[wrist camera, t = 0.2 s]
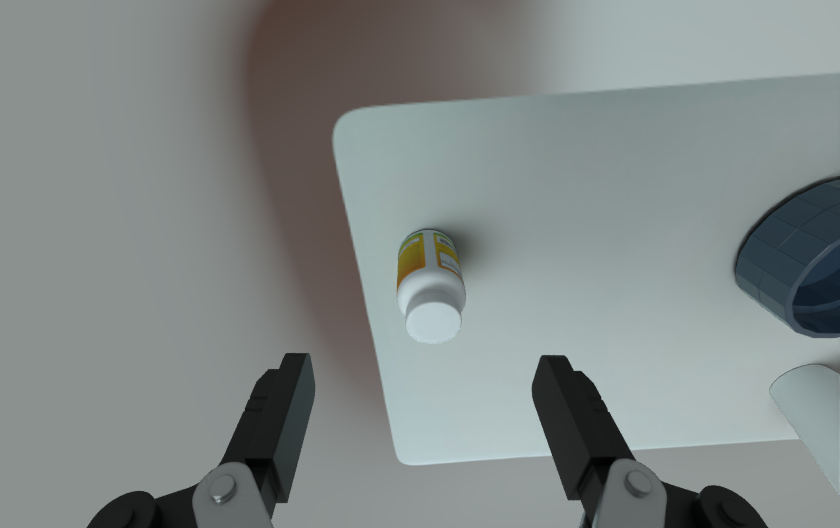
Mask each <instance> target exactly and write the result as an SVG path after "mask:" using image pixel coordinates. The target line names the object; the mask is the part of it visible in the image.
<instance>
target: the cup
mask: <svg viewBox="0 0 840 528" xmlns="http://www.w3.org/2000/svg"><path fill="white" fill-rule="evenodd" d="M769 392H770V396H771V397H772V398H773V400H774V401H775V403H776V404H777V406H778V407H779V409H780V410H781V411H782V413H783V414H784V416H785V417H786V419H787V420H788V422H789V423H790V425H791V426H792V427H793V429H794V430H795V432H796V433H797V435H798V436H799V438H800V439H801V441H802V442H803V443H804V445H805V446H806V448H807V449H808V451H809V452H810V454H811V455H812V457H813V458H814V459H815V461H816V462H817V464H818V465H819V467H820V468H821V470H822V471H823V473H824V474H825V475H826V477H827V478H828V480H829V481H830V483H831V484H832V486H833V487H834V488H835V490H836V491H837V493H838V494H839V496H840V374H838V373H837V372H835V371H833V370H831V369H829V368H827V367H826V366H824V365H819V364H813V365H806V366H802V367H799V368H796V369H793V370H791V371H789V372H787V373H785V374H784V375H782V376H781V377H779V378H778V379H777V380H776V381H775V382H774V383H773V384H772V386H771V387H770V390H769Z"/></svg>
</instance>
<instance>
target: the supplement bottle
mask: <svg viewBox="0 0 840 528" xmlns="http://www.w3.org/2000/svg"><path fill="white" fill-rule="evenodd" d="M465 302H466V292H465V286H464V282H463V278H462V274H461V269H460V265H459V261H458V257H457V252H456V249H455V246H454V244H453V242H452V241H451V240H450V239H449V238H448V237H447V236H446V235H444V234H443V233H441V232H438V231H434V230H422V231H418V232H416V233H414V234H412V235H410V236H409V237H407V238H406V239H405V240H404V242H403V243H402V245H401V247H400V250H399V255H398V277H397V303H398V306H399V309H400V311H401V313H402V314H403V315H404V317H405V318H406V328H407V330H408V332H409V334H410V335H411V336H412V337H413V338H414V339H416V340H417V341H420V342H423V343H427V344H438V343H443V342H446V341H448V340H450V339H451V338H453V337H454V336H455V335H456V334H457V333H458V332H459V330H460V328H461V325H462V318H461V312H462V310H463V308H464V306H465Z"/></svg>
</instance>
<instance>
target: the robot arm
mask: <svg viewBox="0 0 840 528" xmlns="http://www.w3.org/2000/svg"><path fill="white" fill-rule="evenodd" d="M314 396H315V380H314V374H313V368H312V363H311V357H310V354H309V353H286V354H285V356H284V358H283V360H282V363H281V365H280V368H279V369H268V370H267V371H266V372H265V374H264V375H263V376H262V377H261V378H260V379H259V380H258V381H257V382H256V384H255V387H254V389H253V391H252V393H251V396H250V399H249V400H248V402H247V405H246V407H245V411H244V412H243V414H242V416H241V418H240V420H239V423H238V425H237V428H236V430H235V432H234V434H233V437H232V439H231V441H230V443H229V446H228V448H227V450H226V452H225V454H224V457H223V459H222V461H221V462H220V464H219V465H218V466H217V467H216V468H214V469H213V470H211V471H210V472H209V473H208V474H207V475H206V476H205V477H204V478H203V479H202V480H201V481H200V482H199V483H198V484H196V485H194V486H192V487H189V488H187V489H183V490H181V491H177V492H175V493H171V494H168V495H165V496H162V497H159V498H156V499H154V498H153V496H152V495H150V494H149V493H147V492H144V491H134V492H130V493H126V494H124V495H122V496H120V497H118V498H116V499H114V500H113V501H111V502H110V503H108V504H107V505H106V506H105V507H104V508H102V509H101V510H100V511H99V512H98V513H97V514H96V516H95V517H94V518H93V519H92V520H91V522H90V523H89V525H88V527H87V528H274V527H273V525H272V522H271V519H272V515H273V512H274V508H275V504H276V503H287V502H288V498H289V494H290V490H291V487H292V483H293V479H294V475H295V471H296V467H297V464H298V460H299V456H300V452H301V448H302V444H303V440H304V436H305V433H306V428H307V425H308V421H309V417H310V413H311V410H312V406H313V402H314ZM532 397H533V402H534V405H535V408H536V410H537V413H538V416H539V419H540V422H541V425H542V428H543V430H544V433H545V436H546V439H547V442H548V445H549V448H550V450H551V453H552V456H553V459H554V462H555V465H556V467H557V470H558V473H559V476H560V479H561V482H562V485H563V487H564V490H565V493H566V496H567V499H568V500H581V502H582V505H583V508H584V510H585V511H584V513H583V515H582V518H581V522H580V525H579V528H768V527H767V525H766V524H765V522H764V521H763V520H762V518H761V517H760V515H759V514H758V513H757V511H756V510H755V509H754V508H753V507H752V506H751V505H750V504H749V503H748V502H747V501H746V500H745V499H743V498H742V497H741V496H739V495H738V494H736V493H735V492H733V491H731V490H729V489H727V488H724V487H721V486H715V485H712V486H707V487H705V488H704V489H703V490H702V491H701V492H700V493H696V492H693V491H690V490H686V489H683V488H680V487H677V486H674V485H670V484H668V483H665V482H663V481H661V480H660V479H659V478H658V477H657V476H656V474H655V473H654V472H653V471H651V470H650V469H649V468H648V467H646V466H645V465H643V464H642V463H640V462H638V461H636V459H635V458H634V456H633V455H632V453H631V451H630V449H629V447H628V445H627V444H626V442H625V440H624V438H623V436H622V434H621V433H620V431H619V429H618V427H617V425H616V423H615V422H614V420H613V418H612V416H611V414H610V412H608V410H607V407H606V405H605V403H604V401H603V400H601V396H600V394H599V392H598V390H597V389H596V387H595V385H594V383H593V382H592V381H591V380H590V379H589V378H588V377H587V376H586V375H585V374H584V373H583V372H582V371H574V370H573V368H572V366H571V364H570V362H569V361H568V359H567V357H566V356H564V355H542V356H541V358H540V360H539V364H538V367H537V370H536V373H535V377H534V380H533V383H532Z"/></svg>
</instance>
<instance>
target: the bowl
mask: <svg viewBox="0 0 840 528" xmlns="http://www.w3.org/2000/svg"><path fill="white" fill-rule="evenodd" d="M736 277H737V282H738V286H739V287H740V288H741V289H742V290H743V291H744V292H745V293H746V294H747V295H748V296H749V297H750V298H751V299H753V300H754V301H755V302H757V303H758V304H759V305H761V306H762V307H763V308H765V309H766V310H767V311H769V312H770V313H771V314H772V315H774V316H775V317H776V318H778V319H779V320H780V321H782V322H783V323H784V324H786V325H787V326H788V327H790V328H791V329H792V330H794V331H795V332H797V333H800V334H803V335H806V336H809V337H812V338H838V337H840V179H839V180H835V181H831V182H827V183H823V184H821V185H819V186H817V187H815V188H813V189H810V190H808V191H806V192H804V193H802V194H800V195H798V196H796V197H794V198H793V199H791V200H790V201H789V202H787V203H786V204H784V205H783V206H782V207H780V208H779V209H777V210H776V211H775V212H773V213H772V214H771V215H769V216H768V218H767V219H766V220H765V221H764V222H763V223H762V224H761V225H760V226H759V227H758V228H757V229H756V230H755V231H754V232H753V233H752V235H751V236H750V237H749V239H748V241H747V242H746V244H745V246H744V247H743V249H742V251H741V252H740V255H739V258H738V263H737V267H736Z"/></svg>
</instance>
